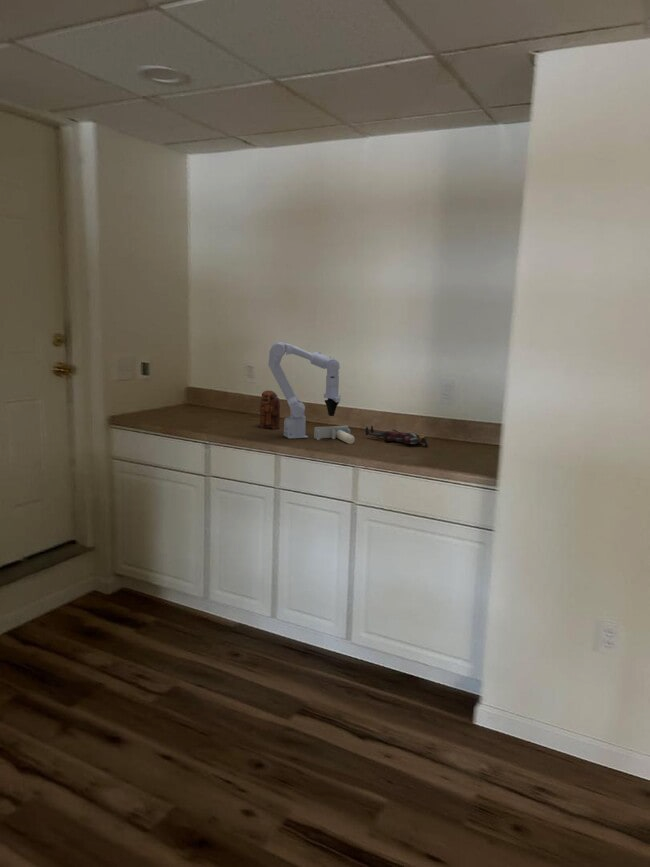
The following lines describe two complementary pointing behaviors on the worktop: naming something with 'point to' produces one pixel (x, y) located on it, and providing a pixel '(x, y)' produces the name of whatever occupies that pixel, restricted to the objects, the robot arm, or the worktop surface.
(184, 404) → the worktop surface
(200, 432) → the worktop surface
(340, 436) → the tall cream cylinder
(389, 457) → the worktop surface
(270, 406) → the wooden figurine
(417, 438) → the figurine
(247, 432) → the worktop surface
